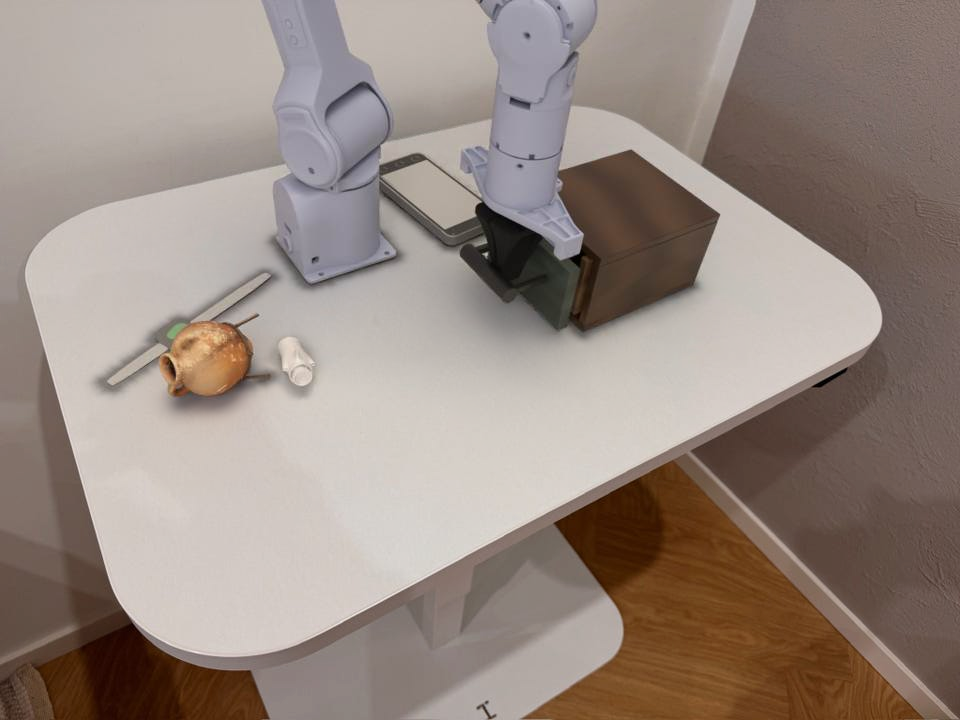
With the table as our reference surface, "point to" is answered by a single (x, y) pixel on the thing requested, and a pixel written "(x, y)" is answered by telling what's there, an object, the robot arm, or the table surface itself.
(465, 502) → the table surface
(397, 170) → the smartphone
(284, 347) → the small white plastic part
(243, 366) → the pot
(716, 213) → the cabinet
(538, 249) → the rack drawer
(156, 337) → the strap with green oval
